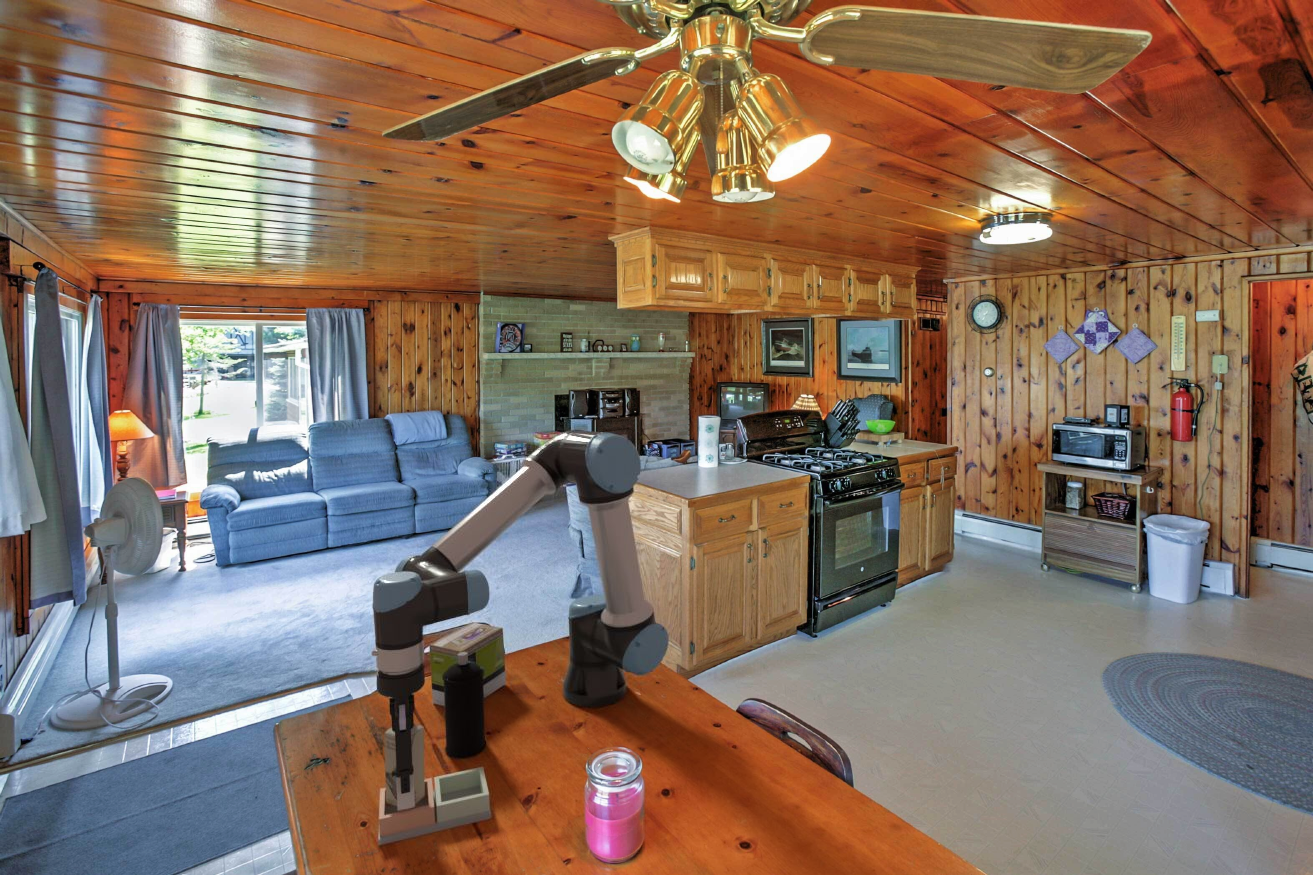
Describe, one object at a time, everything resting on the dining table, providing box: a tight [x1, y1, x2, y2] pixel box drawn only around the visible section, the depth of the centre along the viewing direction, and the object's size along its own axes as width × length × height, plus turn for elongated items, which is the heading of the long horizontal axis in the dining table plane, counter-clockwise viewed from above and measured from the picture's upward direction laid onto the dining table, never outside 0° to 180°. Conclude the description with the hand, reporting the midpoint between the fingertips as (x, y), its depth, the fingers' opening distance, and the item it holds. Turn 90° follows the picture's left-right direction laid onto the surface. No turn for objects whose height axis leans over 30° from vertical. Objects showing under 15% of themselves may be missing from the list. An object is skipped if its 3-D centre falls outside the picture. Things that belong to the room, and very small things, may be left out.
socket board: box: [377, 766, 492, 846], centre depth 116 cm, size 18×10×4 cm, turn 111°
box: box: [384, 723, 425, 810], centre depth 114 cm, size 5×4×13 cm
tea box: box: [428, 621, 507, 708], centre depth 158 cm, size 15×10×15 cm
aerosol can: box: [442, 652, 488, 760], centre depth 136 cm, size 8×8×20 cm
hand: (406, 794), depth 114 cm, fingers closed on box, 6 cm apart
